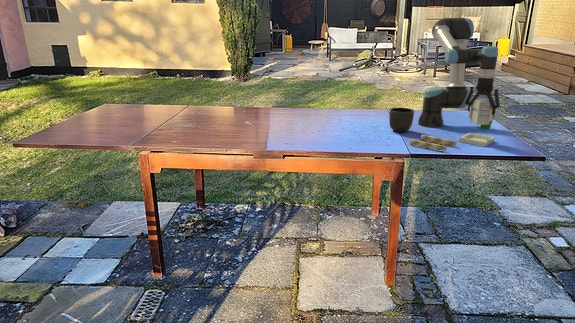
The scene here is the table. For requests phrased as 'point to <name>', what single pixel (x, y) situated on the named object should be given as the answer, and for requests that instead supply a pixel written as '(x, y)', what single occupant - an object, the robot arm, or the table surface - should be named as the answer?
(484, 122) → the supplement box
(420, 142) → the open u-shaped frame
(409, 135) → the table surface
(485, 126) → the cup
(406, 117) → the planter
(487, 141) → the tray
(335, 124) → the table surface
